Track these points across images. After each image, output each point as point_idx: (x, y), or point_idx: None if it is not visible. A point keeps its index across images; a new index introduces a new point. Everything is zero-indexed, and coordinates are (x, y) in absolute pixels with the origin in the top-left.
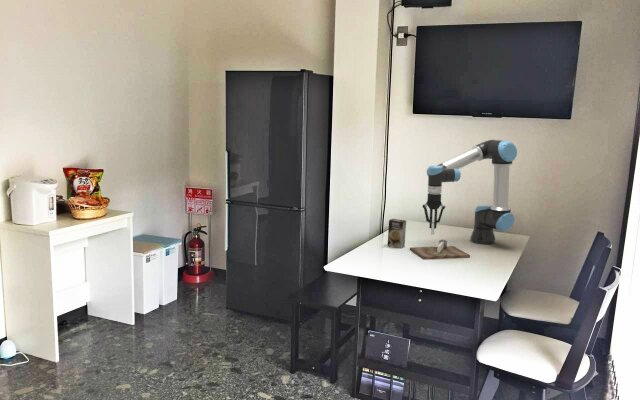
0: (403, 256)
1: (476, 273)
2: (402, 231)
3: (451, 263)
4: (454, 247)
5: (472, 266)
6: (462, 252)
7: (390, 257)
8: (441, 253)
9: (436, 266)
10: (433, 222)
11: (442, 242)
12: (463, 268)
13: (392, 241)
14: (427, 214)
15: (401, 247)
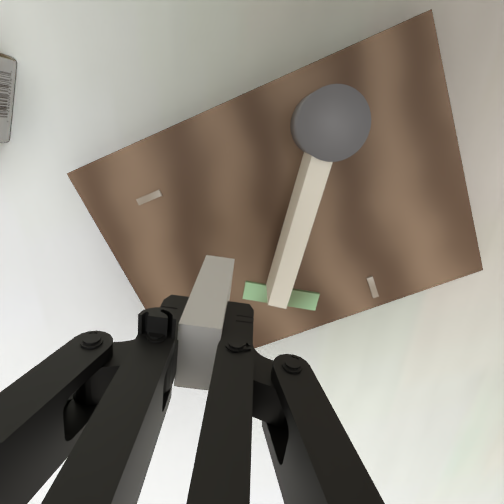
0: (68, 333)
1: (418, 499)
2: None
3: (332, 395)
4: (426, 66)
5: (431, 417)
6: (449, 215)
7: (5, 368)
8: (293, 292)
9: (251, 452)
10: (202, 333)
11: (320, 176)
12: (377, 452)
13: None
14: (15, 498)
15: (4, 141)
